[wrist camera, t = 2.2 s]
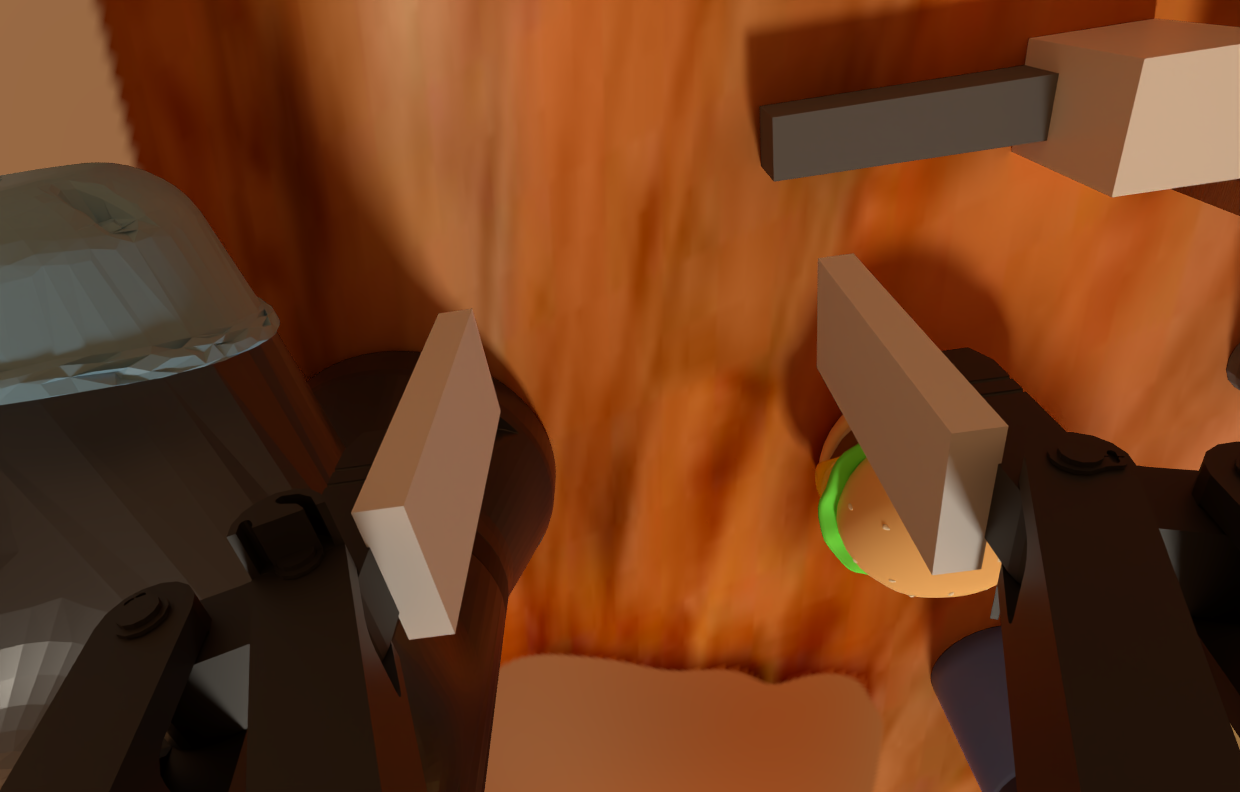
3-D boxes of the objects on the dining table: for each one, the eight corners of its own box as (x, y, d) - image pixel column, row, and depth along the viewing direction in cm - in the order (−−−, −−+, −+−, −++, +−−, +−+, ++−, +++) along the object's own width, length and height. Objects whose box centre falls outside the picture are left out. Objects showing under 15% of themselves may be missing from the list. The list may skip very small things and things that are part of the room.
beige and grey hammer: (762, 188, 31) (801, 242, 25) (758, 80, 29) (801, 111, 23) (1127, 134, 30) (1257, 175, 25) (1154, 18, 28) (1305, 34, 22)
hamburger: (1047, 452, 40) (1150, 563, 32) (865, 556, 44) (919, 675, 36) (952, 309, 35) (1048, 401, 27) (755, 441, 39) (793, 553, 31)
